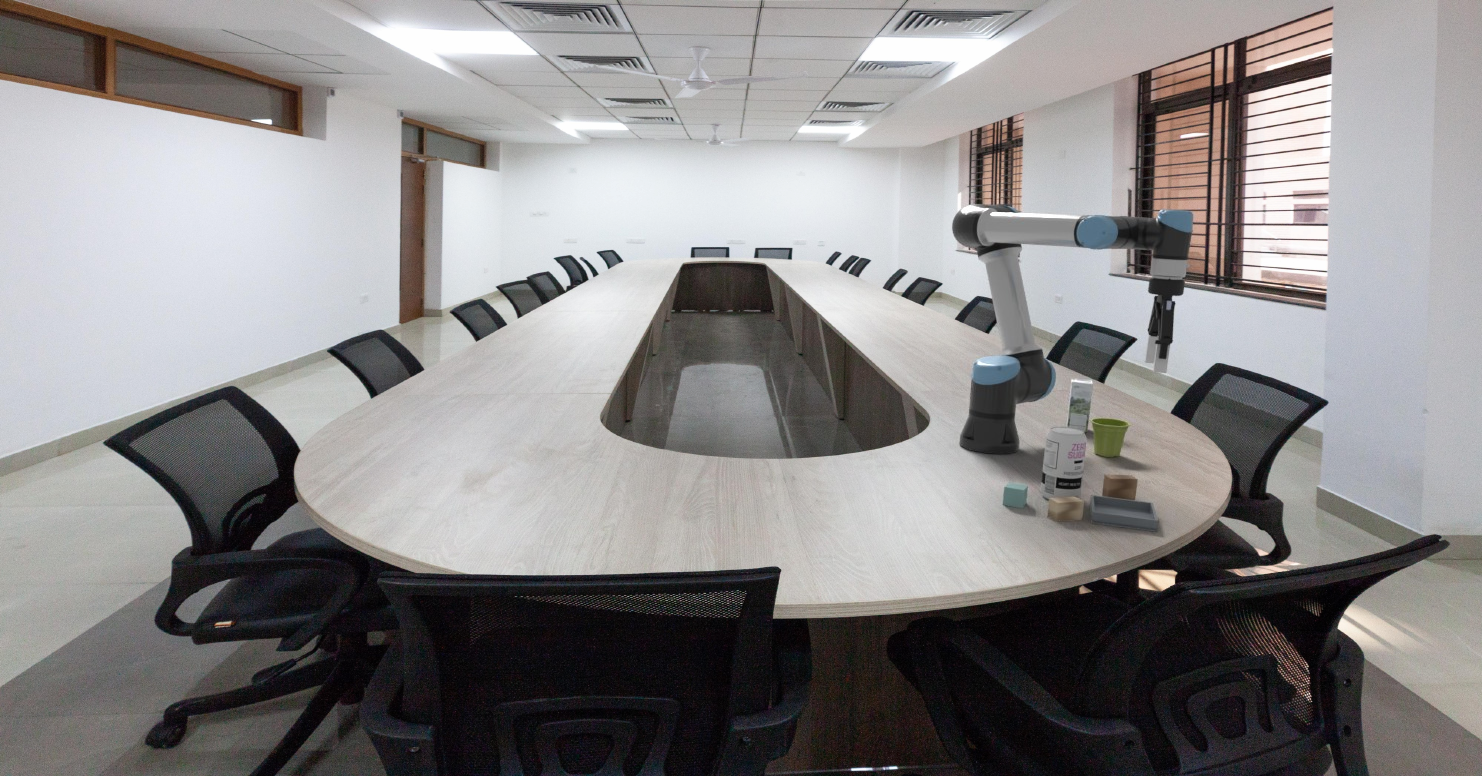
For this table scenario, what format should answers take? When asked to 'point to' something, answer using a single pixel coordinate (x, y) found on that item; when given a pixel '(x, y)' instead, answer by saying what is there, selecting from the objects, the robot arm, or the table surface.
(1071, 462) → the supplement can
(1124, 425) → the plant pot
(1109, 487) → the walnut block
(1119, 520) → the tray
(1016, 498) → the teal block
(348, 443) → the table surface
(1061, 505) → the tan block
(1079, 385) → the syrup box
